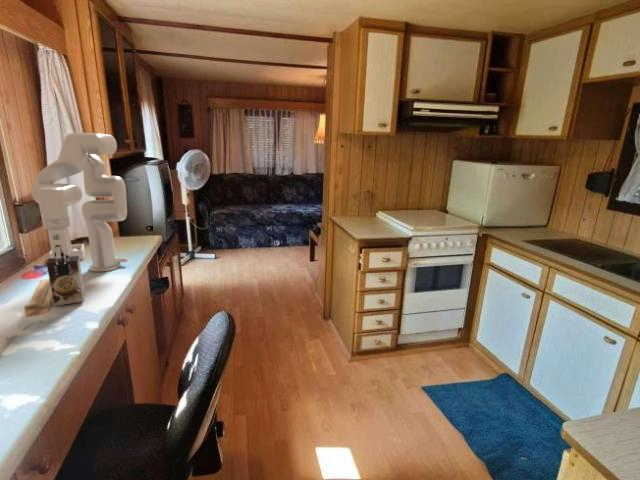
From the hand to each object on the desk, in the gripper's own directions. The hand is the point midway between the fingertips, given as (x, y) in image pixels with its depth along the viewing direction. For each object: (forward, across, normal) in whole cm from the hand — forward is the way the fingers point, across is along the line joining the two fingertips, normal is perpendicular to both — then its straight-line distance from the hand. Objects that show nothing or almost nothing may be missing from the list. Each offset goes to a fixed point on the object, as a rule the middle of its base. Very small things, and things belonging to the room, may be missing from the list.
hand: (65, 270), depth 128 cm
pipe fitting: (+13, +58, +4) cm, 60 cm away
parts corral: (+13, +58, +6) cm, 60 cm away
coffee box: (+12, 0, 0) cm, 12 cm away
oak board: (+13, +9, +9) cm, 18 cm away
